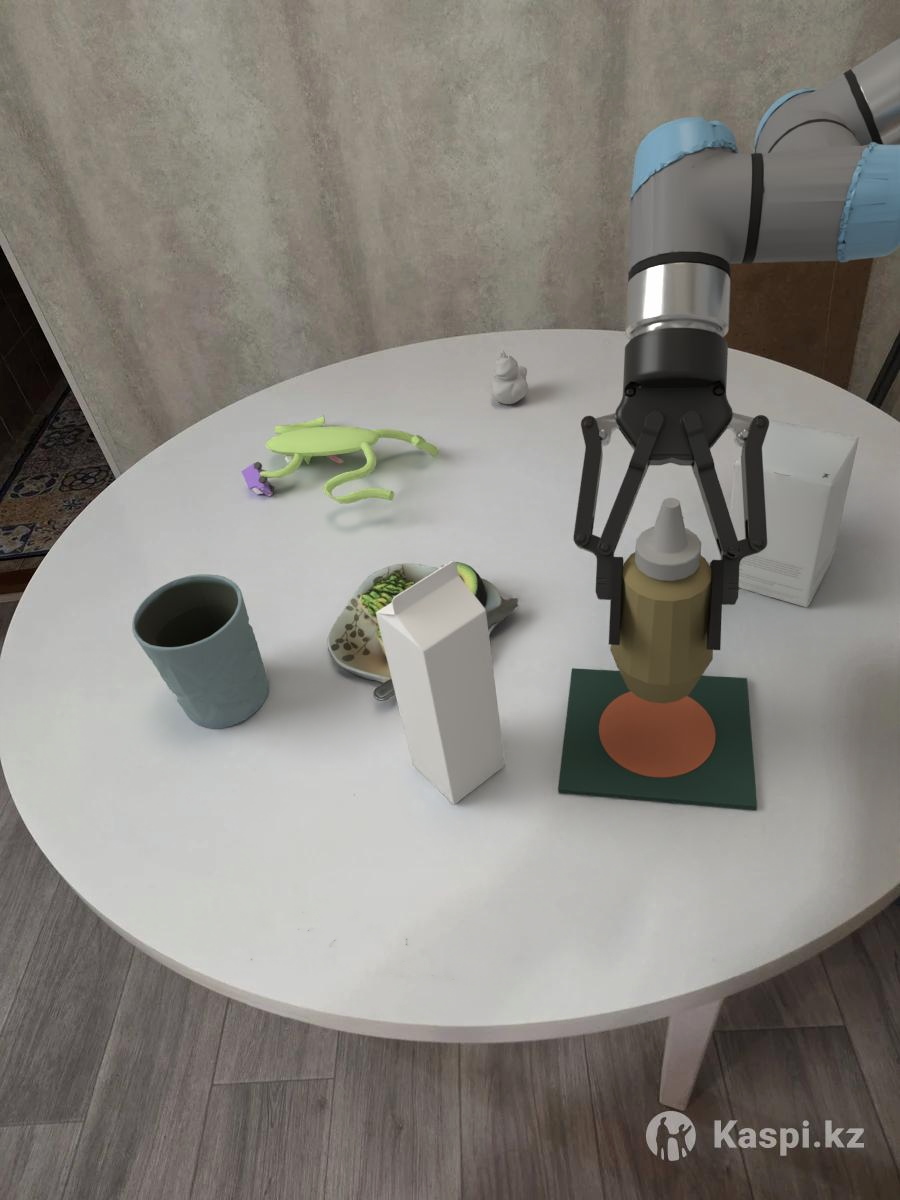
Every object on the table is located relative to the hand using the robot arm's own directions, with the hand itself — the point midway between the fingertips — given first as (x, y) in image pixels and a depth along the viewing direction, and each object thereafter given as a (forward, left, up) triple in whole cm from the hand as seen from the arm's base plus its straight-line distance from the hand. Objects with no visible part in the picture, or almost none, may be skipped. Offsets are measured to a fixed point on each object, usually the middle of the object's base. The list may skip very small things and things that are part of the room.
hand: (663, 646), depth 64 cm
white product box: (-12, -27, -15) cm, 33 cm away
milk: (+17, +1, -15) cm, 23 cm away
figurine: (+41, -43, -15) cm, 61 cm away
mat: (0, -4, -15) cm, 15 cm away
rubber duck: (+21, -63, -15) cm, 68 cm away
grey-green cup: (+42, -5, -15) cm, 45 cm away
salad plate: (+24, -16, -15) cm, 32 cm away
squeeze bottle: (0, -4, -8) cm, 8 cm away
